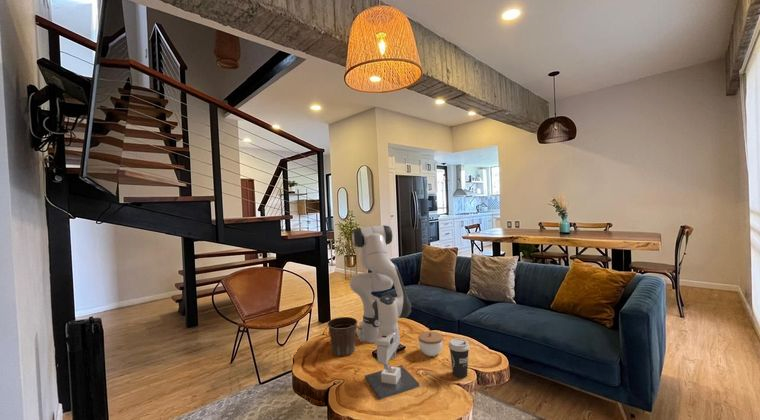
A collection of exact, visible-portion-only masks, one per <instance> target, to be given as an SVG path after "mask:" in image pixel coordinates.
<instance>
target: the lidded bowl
mask: <svg viewBox="0 0 760 420" xmlns="http://www.w3.org/2000/svg"><path fill="white" fill-rule="evenodd" d="M443 337H444V336H443V335H442V334H441V333H439V332H437V331H431V330H430V331H423V332H421V333H419V335H418V336H417V338H418V344H419V345H418V346H419V349H420V350H421V352H422V353H423V354H424V355H425V356H426V355H428V356H427V357H430V356H433V357H437V356H438V355H439V354H440V352H441V351H442V348H443ZM437 354H438V355H437ZM436 355H437V356H436Z"/></svg>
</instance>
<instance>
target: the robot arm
mask: <svg viewBox="0 0 760 420" xmlns="http://www.w3.org/2000/svg"><path fill="white" fill-rule="evenodd" d="M393 237H394V233H393V230H392V228H391V227H390V226H389V225H370V226H365V227H364V226H363V227H358V228H355V229H353V231H352V234H351V241H352V243H353V246H355V247H356V248H360V254H361V257H360V258H361V260H360V261H361V266H362V267H363V268H365V270H368V271H371V272H365V273H364V272H362V273H357V274H353V275H352V276H351V277H350V280H349V287H350V289H351V290H352V292H354V293H355V294H357V295H358V296H359V298H360V300H361V301H362V305H363V306H362V307H363V315H362V320H361V322H359V326H357V329H356V333H355V334H357V335H356V336H357V338H358V341H359V342H362V343H369V344H375V345H377V346H376V358H377V362H378V363H379V364H382V365H383V370H384V369H385V370H388V368H389V366H390V364H389V361H390V359H393V360H395V359H396V358H397V350H398V349H397V348H398V347H399V345H400V343H401V337H400V329H399V328H400V327H399V324H398V320H399V319H406V318H407V317H409V315H410V314H411V313H412V304H411V301H410V299H409V296H408V294H407V292H406V288H405V286H404V283H403V279H402V277H401V273H400V271H399V268H398V266H397V264H396V263H394V262H392V260H391V259H390V255H389V251H388V246H387V245H389V244H391V243H392V242H393V239H394V238H393ZM392 287H394V289H395V292H396V296H392V295H389V294H388V295H387V294H386V295H383V296H381V297H378V296H375V295H373V294H372V292H383V291H387V290H390V289H392Z"/></svg>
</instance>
